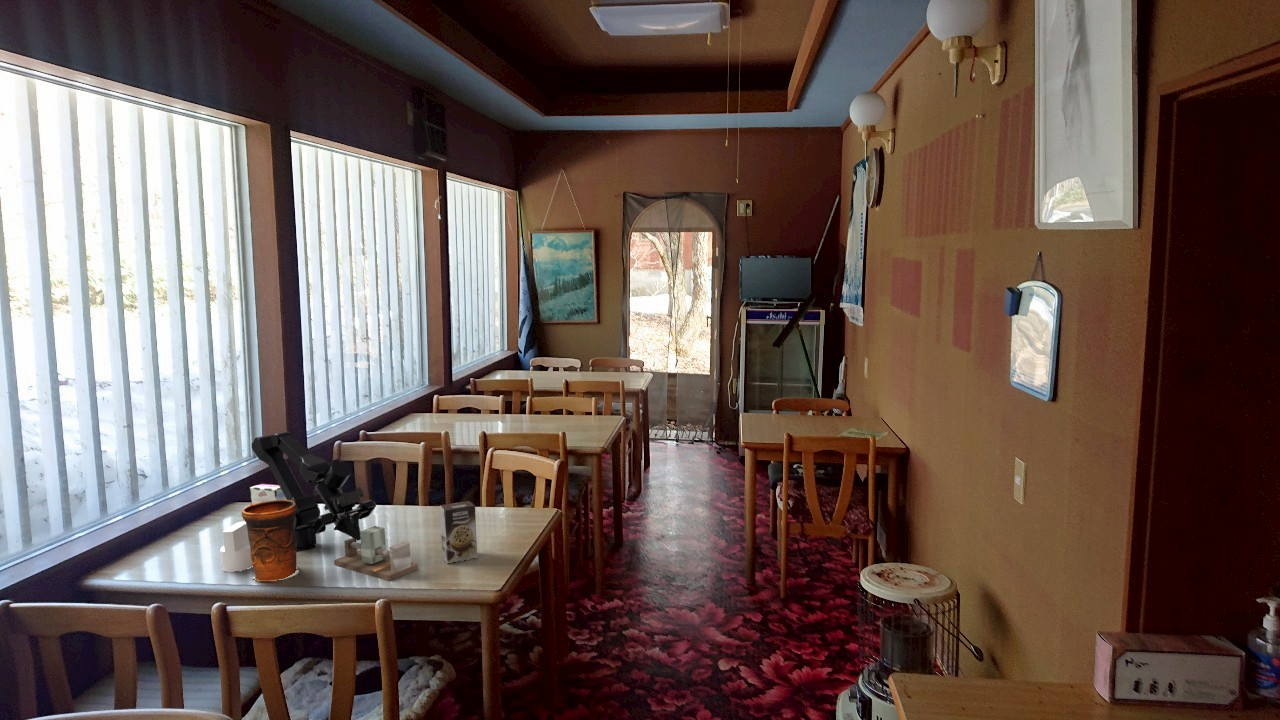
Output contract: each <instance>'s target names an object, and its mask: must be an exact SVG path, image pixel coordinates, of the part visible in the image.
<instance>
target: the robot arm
mask: <svg viewBox="0 0 1280 720" xmlns="http://www.w3.org/2000/svg"><path fill="white" fill-rule="evenodd" d="M291 433H292V432H290V431H282V432H277V433H273V434H267V435H263V436H257V437H255V438H254V439H253V441H252V442H251V450H252V451H253V452H254V454H255V456H256V457H257V458H258V460H260V461H261V462H263V463H266V464H267V465H268V467H269V469H270V472H272V475H273V477H274V478H275V480H276V482H277V485H279V486H280V488H281V490H282V492H283V493H284V495H285V497H286V499H287V500H290V501H293V502H295V503H296V505H297V513H296V515H295V520H294V531H295V537H296V542H297V551H302V549H303V550H309V549H314V548H316V544H317V535H319V534H320V533H324V532H325V531H326V529H327V526H328V525H331V524H334V527H333V530H334V531H339V532H341V533H343V534H345V535H347V536H349V537H350V538H354V539H356V541H361V540H360V531H361V528H360V520H362V519H365V518H368V517H369V516H370V515H371V514H372V513H373V511H374V510H375V509H376V508H377V504H376V503H375V501H374V500H372V499H368V500H365V501H362V499H363V498H364V497H365V493H364V491H363V489H362V487H360V486H359V487H355V488H354V489H352V491H350V492H343V491H342V490H341V488H342V487H343V486H344V484H345V483H346V481H347V480H348V479H349V477H350V475H351V474H352V468H351V465H349V464H348V463H346V462H344V461H340V460H339V459H338V458H336V459H335V458H334V459H332V460H331V461H330V463H329V462H328V461H327V460H325V459H323V458H322V457H319V456H316V455H313V454H311V453H310V452H309V451H308V450H306V448H305V447H303V446H302V445H301V444H300V443H299V442H298V441H297V440H296V439H295V438H294V437H293V435H292V434H291ZM284 454H285V455H286V456H287V458H289V460H290V461H292V462H293V463H294V464H295V465H296V466H297V468H298V469H299V475H300V476H301V478H303V480H304V481H305V482H306V483H307V484H313V483H317V482H318V484H317V485H314V489H313V491H312V492H313V493H312V494H313V495H312V494H310V495H306V494H305V493H304V492H303V490H302V488H301V487H300V484H299V482H298V481H297V478H296V477H295V475H294V474H293V472H292V469H291V468H290V466H289V464H288V462H287V461H286V459H285V457H284ZM317 495H319V497H320V499H321V500H322V502H323V504H324V507H323V509H324V510H325V511H329V512H327V513H324V514H321V510H320V507H319V504H318V503H317V501H316V500H315V496H317ZM361 501H362V502H361ZM358 502H360V503H359V505H358V506H357V504H356V503H358ZM355 506H357V507H356V508H355V509H353V508H354V507H355Z"/></svg>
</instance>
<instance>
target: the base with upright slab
mask: <svg viewBox="0 0 1280 720" xmlns="http://www.w3.org/2000/svg"><path fill="white" fill-rule="evenodd" d="M222 537H223V538H222V539H223V546H221V547H220V549H219V551H220V561H221V571H222V572H224V571H227V572H226V573H235V572H234V571H239V572H241V571H240V570H244V571H246V570H245V569H247V568H250V567H252V566H253V565H252V563H251V549H250V543H249V539H248V530H247V524H246V522H245V521H238V522H236V523H235V524H232V525H231V526H230V527H228V528H226V529H224V530H223V531H222ZM252 568H253V567H252ZM250 569H251V568H250ZM247 570H248V569H247Z"/></svg>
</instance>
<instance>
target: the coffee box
mask: <svg viewBox="0 0 1280 720" xmlns="http://www.w3.org/2000/svg"><path fill="white" fill-rule="evenodd" d="M439 508H440V509H439V510H440V531H441V533H440V534H441V536H440V537H441V555H442V560H444V562H445V561H446V562H445V563H446V564H447V563H450V564H454V563H453V562H456V563H459V562H458V561H461V562H465V561H464V560H466V561H469V560H468V559H472V560H474V559H473V558H477V559H478V543H477V542H478V540H477V539H478V538H477V521H476V520H477V515H476V504H474V503H473V502H471V501H470V500H467V501H460V502H454V503H447V504H440V506H439Z"/></svg>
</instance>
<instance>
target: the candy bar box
mask: <svg viewBox="0 0 1280 720" xmlns="http://www.w3.org/2000/svg"><path fill="white" fill-rule="evenodd" d="M249 489H250V491H249V492H250V503H251V504H256V503H260V502H268V501H274V500H287V499H286V497H285V495H284V493H283V492H282V490H281V488H280V486H279V484H269V483H268V484H266V483H260V484H256V485H253V486H250V487H249ZM251 504H250V505H251Z"/></svg>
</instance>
